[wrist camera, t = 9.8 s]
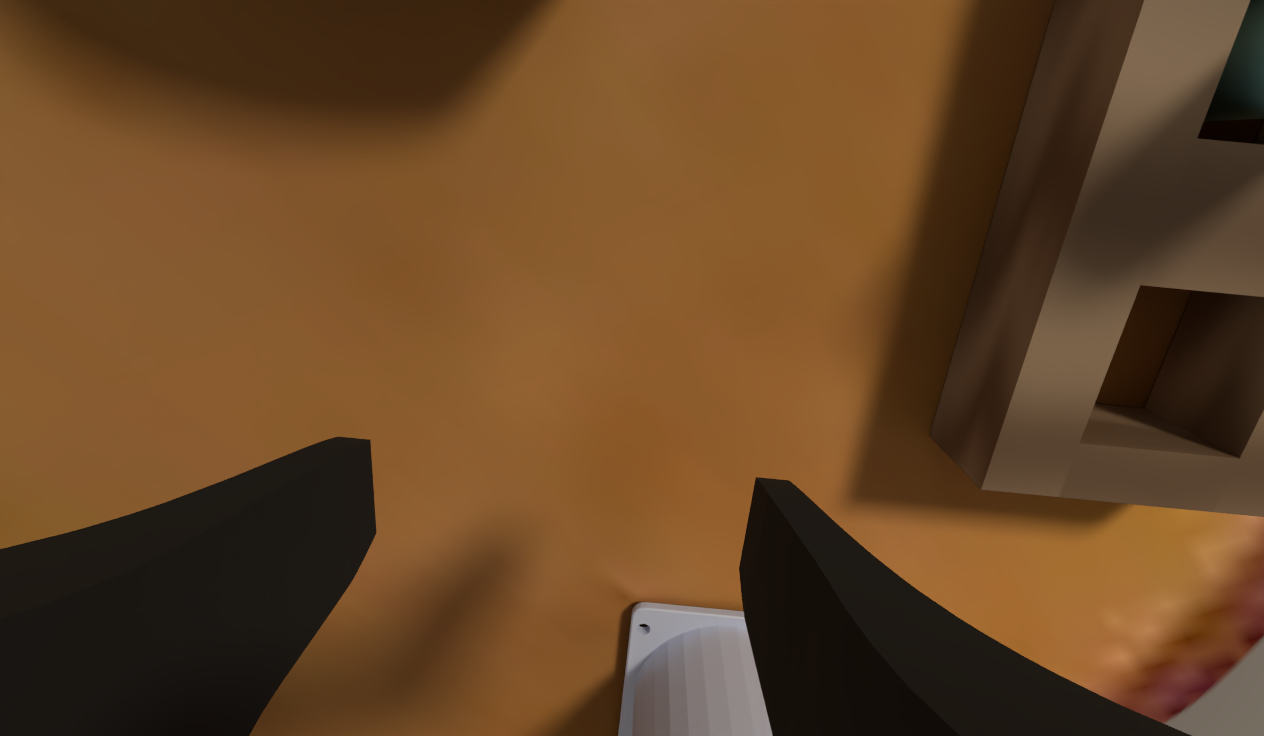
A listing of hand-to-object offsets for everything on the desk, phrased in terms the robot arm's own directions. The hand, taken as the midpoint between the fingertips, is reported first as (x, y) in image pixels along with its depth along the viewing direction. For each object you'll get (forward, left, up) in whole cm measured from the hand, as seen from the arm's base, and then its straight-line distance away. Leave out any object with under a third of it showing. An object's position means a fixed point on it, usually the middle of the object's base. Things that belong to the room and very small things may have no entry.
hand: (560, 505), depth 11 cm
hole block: (+6, -16, -9) cm, 20 cm away
